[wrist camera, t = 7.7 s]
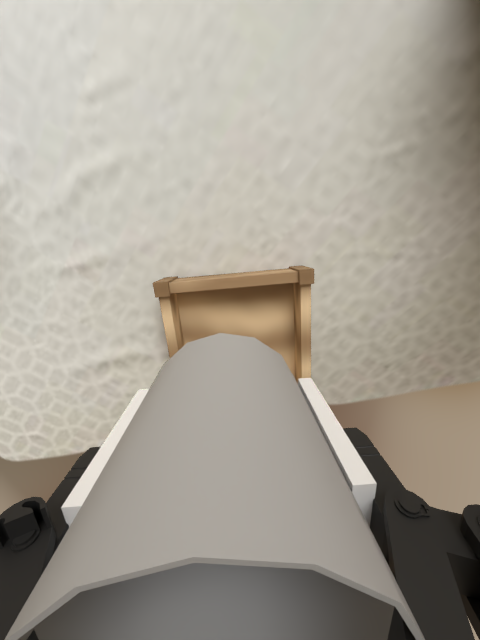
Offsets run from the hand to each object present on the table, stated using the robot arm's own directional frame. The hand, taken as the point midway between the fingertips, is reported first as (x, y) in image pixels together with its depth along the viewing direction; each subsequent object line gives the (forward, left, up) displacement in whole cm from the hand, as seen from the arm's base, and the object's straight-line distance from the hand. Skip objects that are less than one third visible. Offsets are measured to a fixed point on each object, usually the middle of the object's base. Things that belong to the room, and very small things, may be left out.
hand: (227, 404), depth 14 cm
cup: (0, 0, -1) cm, 1 cm away
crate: (+2, +1, -16) cm, 16 cm away
